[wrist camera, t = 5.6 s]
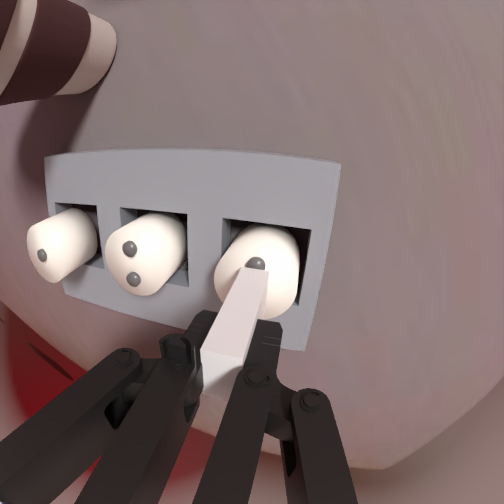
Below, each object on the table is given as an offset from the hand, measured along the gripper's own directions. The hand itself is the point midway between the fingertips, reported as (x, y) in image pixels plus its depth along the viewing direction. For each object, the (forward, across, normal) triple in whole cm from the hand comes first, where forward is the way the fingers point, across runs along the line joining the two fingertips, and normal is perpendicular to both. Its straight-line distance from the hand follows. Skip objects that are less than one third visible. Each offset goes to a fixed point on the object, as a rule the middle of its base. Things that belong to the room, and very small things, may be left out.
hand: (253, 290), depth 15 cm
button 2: (+5, -8, 0) cm, 10 cm away
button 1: (+3, -16, 0) cm, 16 cm away
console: (+6, -8, 0) cm, 10 cm away
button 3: (+5, 0, 0) cm, 5 cm away
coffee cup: (+6, -17, +16) cm, 24 cm away
